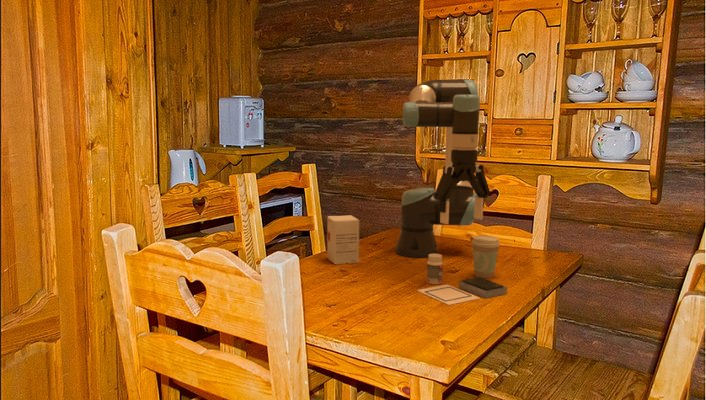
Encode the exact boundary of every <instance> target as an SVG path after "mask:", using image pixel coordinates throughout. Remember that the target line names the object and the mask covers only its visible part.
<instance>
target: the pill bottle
mask: <svg viewBox="0 0 706 400" xmlns="http://www.w3.org/2000/svg"><path fill="white" fill-rule="evenodd" d="M427 259H428V261H426V283H427V284H430V285H440V284H441V285H442V283H443V280H444V279H443V277H444V263H443V261H442V260H443V255H442V254H441V253H437V254H429V255H428V257H427Z"/></svg>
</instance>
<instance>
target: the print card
mask: <svg viewBox="0 0 706 400" xmlns="http://www.w3.org/2000/svg"><path fill="white" fill-rule="evenodd" d="M416 291H417V292H419V293H421V294H423V295H425V296H427V297H430V298H431V299H434V300H437V301H438V302H441V303H443V304H445V305H447V306H451V305H452V306H453V305H457V304H462V303H466V302H472V301H475V300H480V299H481V297H480V296H476V295H475V294H473V293H470V292H468V291H467V292H466V291H465V290H463V289H462V290H461V289H460V288H456V287H454V286H452V285H450V284H441V285H436V286H432V287H431V286H430V287H426V288H421V289H416Z"/></svg>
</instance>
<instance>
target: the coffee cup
mask: <svg viewBox="0 0 706 400" xmlns="http://www.w3.org/2000/svg"><path fill="white" fill-rule="evenodd" d="M471 245H472V256H473V269H474V270H473V271H474V276H475V278H477V277H481V278H484V279H492V278H494V277H495V271H496V266H497V265H496V264H497V259H498V254H499V253H498V251H499V247H500V246H501V245H500V241H499V238H498V237H495V236H491V235H477V236H474V237H472V240H471Z"/></svg>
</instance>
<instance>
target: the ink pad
mask: <svg viewBox="0 0 706 400" xmlns="http://www.w3.org/2000/svg"><path fill="white" fill-rule="evenodd" d="M458 289H460V290H461V289H462V290H463V291H465V292H466V291H467V292H468V293H470V294H472V295H475V296H476V295H477V297H480V298H484V299H489V298H494V297H498V296H503V295H507V294H508V286H505V285H502V284H500V283H497V282H494V281H492V280H489V279H488V278H481V277H473V278H467V279H466V278H465V279H461V280H459V281H458Z"/></svg>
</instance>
